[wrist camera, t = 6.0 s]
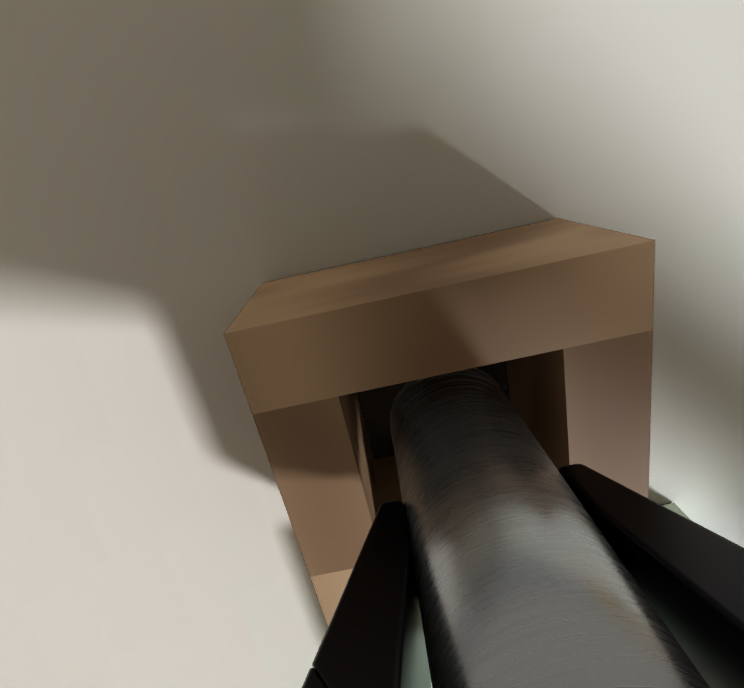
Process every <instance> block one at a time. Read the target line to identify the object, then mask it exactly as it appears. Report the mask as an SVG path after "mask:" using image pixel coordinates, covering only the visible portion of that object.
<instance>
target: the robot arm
mask: <svg viewBox="0 0 744 688" xmlns="http://www.w3.org/2000/svg"><path fill="white" fill-rule="evenodd" d="M558 471H559V472H560V474H561V475H562V477H563V478H564V480H565V481H566V482H567V484H568V485H569V487H570V488H571V490H572V491H573V492H574V494H575V495H576V497H577V498H578V500H579V501H580V502H581V504H582V505H583V507H584V508H585V510H586V511H587V512H588V514H589V515H590V517H591V518H592V520H593V521H594V523H595V524H596V525H597V527H598V528H599V530H600V531H601V533H602V534H603V535H604V537H605V538H606V540H607V541H608V543H609V544H610V545H611V547H612V548H613V550H614V551H615V553H616V554H617V555H618V557H619V558H620V560H621V561H622V563H623V564H624V565H625V567H626V568H627V570H628V571H629V573H630V574H631V576H632V577H633V578H634V580H635V581H636V583H637V584H638V586H639V587H640V588H641V590H642V591H643V593H644V594H645V596H646V597H647V598H648V600H649V601H650V603H651V604H652V606H653V607H654V608H655V610H656V611H657V613H658V614H659V616H660V617H661V618H662V620H663V621H664V623H665V624H666V626H667V627H668V628H669V630H670V631H671V633H672V634H673V636H674V637H675V639H676V640H677V641H678V643H679V644H680V646H681V647H682V649H683V650H684V651H685V653H686V654H687V656H688V657H689V659H690V660H691V661H692V663H693V664H694V666H695V667H696V669H697V670H698V671H699V673H700V674H701V676H702V677H703V679H704V680H705V681H706V683H707V684H708V686H709V687H710V688H744V548H743V547H741V546H739V545H737V544H735V543H733V542H731V541H730V540H728V539H726V538H724V537H722V536H720V535H718V534H716V533H714V532H712V531H710V530H708V529H706V528H704V527H703V526H701V525H699V524H697V523H695V522H693V521H691V520H689V519H687V518H685V517H683V516H681V515H679V514H678V513H676V512H674V511H672V510H670V509H668V508H666V507H664V506H662V505H660V504H658V503H656V502H654V501H652V500H651V499H649V498H647V497H645V496H643V495H641V494H639V493H637V492H635V491H633V490H631V489H629V488H627V487H625V486H624V485H622V484H620V483H618V482H616V481H614V480H612V479H610V478H608V477H606V476H604V475H602V474H600V473H599V472H597V471H595V470H593V469H591V468H589V467H587V466H585V465H583V464H572V465H567V466H562V467H560V468H559V470H558ZM312 666H313V668H311V669H310V670H309V672H308V674H307V677H306V679H305V682H304V684H303V686H302V688H431V676H430V670H429V664H428V658H427V651H426V645H425V639H424V633H423V627H422V620H421V614H420V608H419V602H418V596H417V589H416V583H415V576H414V569H413V561H412V555H411V548H410V542H409V536H408V530H407V524H406V518H405V512H404V506H403V503H402V501H401V500H394V501H390V502H385V503H382V504H381V505H380V507H379V509H378V512H377V514H376V516H375V519H374V521H373V523H372V526H371V528H370V530H369V533H368V535H367V537H366V540H365V542H364V544H363V547H362V549H361V551H360V554H359V556H358V558H357V561H356V563H355V565H354V568H353V570H352V572H351V575H350V577H349V579H348V582H347V584H346V586H345V589H344V591H343V593H342V596H341V598H340V600H339V603H338V605H337V607H336V610H335V612H334V614H333V617H332V619H331V621H330V624H329V626H328V628H327V631H326V633H325V635H324V638H323V640H322V642H321V645H320V647H319V649H318V652H317V654H316V656H315V659H314V661H313V664H312Z"/></svg>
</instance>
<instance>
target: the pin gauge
mask: <svg viewBox="0 0 744 688" xmlns="http://www.w3.org/2000/svg"><path fill="white" fill-rule="evenodd" d="M390 428H391V434H392V440H393V446H394V453H395V459H396V465H397V471H398V478H399V484H400V490H401V496H402V502H403V506H404V512H405V518H406V524H407V530H408V536H409V542H410V548H411V555H412V561H413V569H414V576H415V583H416V589H417V596H418V602H419V608H420V614H421V620H422V627H423V633H424V639H425V645H426V651H427V658H428V664H429V670H430V676H431V683H432V688H710V687H709V686H708V684H707V683H706V681H705V680H704V679H703V677H702V676H701V674H700V673H699V671H698V670H697V669H696V667H695V666H694V664H693V663H692V661H691V660H690V659H689V657H688V656H687V654H686V653H685V651H684V650H683V649H682V647H681V646H680V644H679V643H678V641H677V640H676V639H675V637H674V636H673V634H672V633H671V631H670V630H669V628H668V627H667V626H666V624H665V623H664V621H663V620H662V618H661V617H660V616H659V614H658V613H657V611H656V610H655V608H654V607H653V606H652V604H651V603H650V601H649V600H648V598H647V597H646V596H645V594H644V593H643V591H642V590H641V588H640V587H639V586H638V584H637V583H636V581H635V580H634V578H633V577H632V576H631V574H630V573H629V571H628V570H627V568H626V567H625V565H624V564H623V563H622V561H621V560H620V558H619V557H618V555H617V554H616V553H615V551H614V550H613V548H612V547H611V545H610V544H609V543H608V541H607V540H606V538H605V537H604V535H603V534H602V533H601V531H600V530H599V528H598V527H597V525H596V524H595V523H594V521H593V520H592V518H591V517H590V515H589V514H588V512H587V511H586V510H585V508H584V507H583V505H582V504H581V502H580V501H579V500H578V498H577V497H576V495H575V494H574V492H573V491H572V490H571V488H570V487H569V485H568V484H567V482H566V481H565V480H564V478H563V477H562V475H561V474H560V472H559V471H558V470H557V468H556V467H555V465H554V464H553V462H552V461H551V460H550V458H549V457H548V455H547V454H546V452H545V451H544V449H543V448H542V447H541V445H540V444H539V442H538V441H537V439H536V438H535V437H534V435H533V434H532V432H531V431H530V429H529V428H528V427H527V425H526V424H525V422H524V421H523V419H522V418H521V417H520V415H519V414H518V412H517V411H516V409H515V408H514V407H513V405H512V404H511V402H510V401H509V399H508V398H507V396H506V395H505V394H504V392H503V391H502V389H501V388H500V387H499V385H498V384H497V383H496V381H495V380H494V379H493V378H492V377H490V376H489V375H488V374H486V373H485V372H483V371H481V370H479V369H477V368H470V369H466V370H461V371H456V372H451V373H447V374H442V375H437V376H432V377H428V378H423V379H418V380H413V381H409V382H407V383H406V384H405V385H404V386H403V387H402V389H401V390H400V391H399V393H398V394H397V396H396V398H395V400H394V402H393V405H392V408H391V413H390Z"/></svg>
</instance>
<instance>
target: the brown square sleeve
mask: <svg viewBox="0 0 744 688" xmlns="http://www.w3.org/2000/svg"><path fill="white" fill-rule="evenodd" d="M654 261H655V240H651V239H647V238H643V237H638V236H634V235H629V234H625V233H620V232H616V231H612V230H607V229H603V228H598V227H594V226H590V225H585V224H581V223H576V222H572V221H567V220H563V219H559V218H557V219H552V220H547V221H543V222H538V223H534V224H529V225H525V226H520V227H516V228H511V229H507V230H502V231H497V232H493V233H488V234H484V235H479V236H475V237H470V238H466V239H461V240H456V241H452V242H447V243H443V244H438V245H434V246H429V247H425V248H420V249H416V250H411V251H406V252H402V253H397V254H393V255H388V256H384V257H379V258H375V259H370V260H365V261H361V262H356V263H352V264H347V265H343V266H338V267H334V268H329V269H325V270H320V271H315V272H311V273H306V274H302V275H297V276H293V277H288V278H284V279H279V280H275V281H270V282H265V283H262V284H261V286H260V287H259V288H258V290H257V291H256V292H255V294H254V295H253V296H252V298H251V299H250V300H249V302H248V303H247V304H246V305H245V307H244V308H243V309H242V311H241V312H240V313H239V315H238V316H237V317H236V319H235V320H234V321H233V322H232V324H231V325H230V326H229V328H228V329H227V330H226V332H225V333H224V336H225V339H226V342H227V344H228V347H229V350H230V353H231V356H232V358H233V361H234V364H235V367H236V370H237V372H238V375H239V378H240V381H241V384H242V386H243V389H244V392H245V395H246V398H247V401H248V403H249V406H250V409H251V412H252V415H253V417H254V420H255V423H256V426H257V429H258V431H259V434H260V437H261V440H262V443H263V445H264V448H265V451H266V454H267V457H268V460H269V462H270V465H271V468H272V471H273V474H274V476H275V479H276V482H277V485H278V488H279V490H280V493H281V496H282V499H283V502H284V504H285V507H286V510H287V513H288V516H289V519H290V521H291V524H292V527H293V530H294V533H295V535H296V538H297V541H298V544H299V547H300V549H301V552H302V555H303V558H304V561H305V563H306V566H307V569H308V572H309V575H310V577H311V580H312V583H313V586H314V589H315V592H316V594H317V597H318V600H319V603H320V606H321V608H322V611H323V614H324V617H325V620H326V622H327V625H328V626H329V624H330V621H331V619H332V617H333V614H334V612H335V610H336V607H337V605H338V603H339V600H340V598H341V596H342V593H343V591H344V589H345V586H346V584H347V582H348V579H349V577H350V575H351V572H352V570H353V568H354V565H355V563H356V561H357V558H358V556H359V554H360V551H361V549H362V547H363V544H364V542H365V540H366V537H367V535H368V533H369V530H370V528H371V526H372V523H373V521H374V519H375V516H376V514H377V512H378V509H379V507H380V505H381V504H382V503H385V502H390V501H394V500H401V501H402V496H401V490H400V484H399V478H398V471H397V465H396V459H395V455H394V456H389V457H384V458H379V459H374V458H373V455H372V451H371V447H370V443H369V439H368V435H367V431H366V427H365V423H364V419H363V415H362V411H361V407H360V403H359V399H358V395H357V392H361V391H366V390H371V389H376V388H380V387H385V386H390V385H395V384H399V383H404V382H409V381H413V380H418V379H423V378H428V377H432V376H437V375H442V374H447V373H451V372H456V371H461V370H466V369H470V368H475V367H480V366H485V365H489V364H494V363H499V362H503V361H506V367H507V377H508V386H509V395H510V402H511V404H512V405H513V407H514V408H515V409H516V411H517V412H518V414H519V415H520V417H521V418H522V419H523V421H524V422H525V424H526V425H527V427H528V428H529V429H530V431H531V432H532V434H533V435H534V437H535V438H536V439H537V441H538V442H539V444H540V445H541V447H542V448H543V449H544V451H545V452H546V454H547V455H548V457H549V458H550V460H551V461H552V462H553V464H554V465H555V467H556V468H557V470H559V468H560V467H562V466H567V465H572V464H583V465H585V466H587V467H589V468H591V469H593V470H595V471H597V472H599V473H600V474H602V475H604V476H606V477H608V478H610V479H612V480H614V481H616V482H618V483H620V484H622V485H624V486H625V487H627V488H629V489H631V490H633V491H635V492H637V493H639V494H641V495H643V496H645V497H647V498H648V493H649V454H650V416H651V377H652V338H653V300H654ZM402 503H403V502H402Z"/></svg>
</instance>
